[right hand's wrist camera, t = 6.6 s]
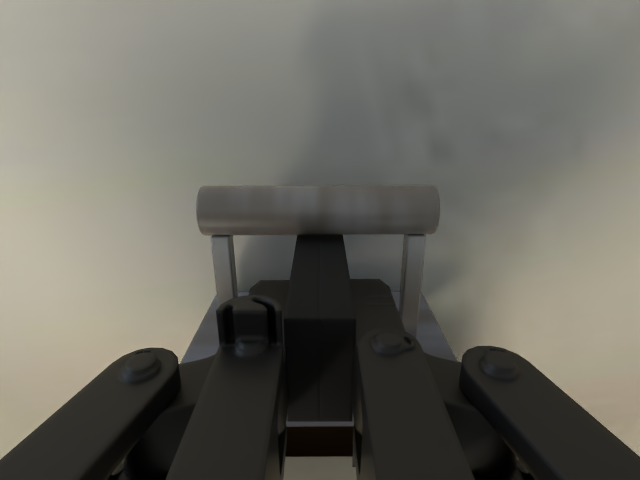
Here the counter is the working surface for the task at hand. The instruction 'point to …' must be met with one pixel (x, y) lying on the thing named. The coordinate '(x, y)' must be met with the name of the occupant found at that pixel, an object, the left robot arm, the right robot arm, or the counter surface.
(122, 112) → the counter surface
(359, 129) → the counter surface
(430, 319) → the drawer
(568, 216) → the counter surface
